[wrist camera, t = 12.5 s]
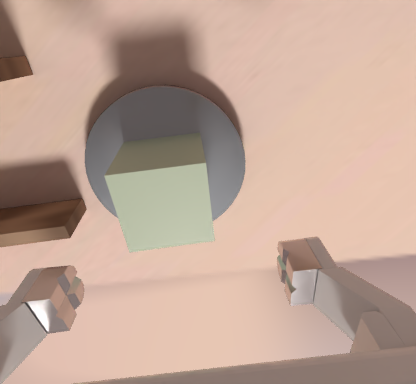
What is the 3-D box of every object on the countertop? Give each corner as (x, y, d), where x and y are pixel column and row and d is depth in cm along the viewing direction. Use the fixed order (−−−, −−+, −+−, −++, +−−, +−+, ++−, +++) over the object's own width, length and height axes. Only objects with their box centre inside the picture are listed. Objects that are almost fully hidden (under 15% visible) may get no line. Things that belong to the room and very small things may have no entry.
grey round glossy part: (239, 75, 17) (242, 77, 16) (244, 215, 22) (247, 223, 21) (66, 95, 17) (58, 99, 16) (114, 232, 22) (111, 242, 21)
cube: (199, 132, 17) (205, 162, 13) (207, 197, 20) (214, 240, 15) (123, 142, 17) (104, 175, 13) (141, 206, 20) (129, 252, 15)
